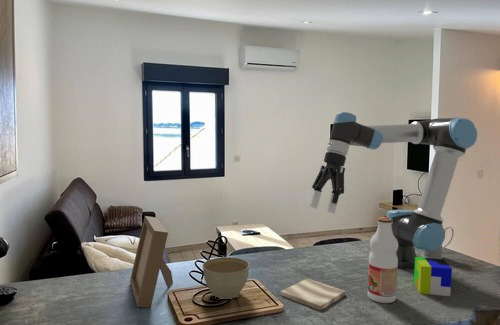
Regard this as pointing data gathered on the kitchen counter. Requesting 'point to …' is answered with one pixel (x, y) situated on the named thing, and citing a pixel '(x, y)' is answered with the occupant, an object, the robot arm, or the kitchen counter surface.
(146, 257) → the photo frame
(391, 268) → the fruit juice
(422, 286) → the puzzle toy
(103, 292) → the kitchen counter surface
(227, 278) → the planter bowl
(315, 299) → the birch board
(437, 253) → the grey pitcher
